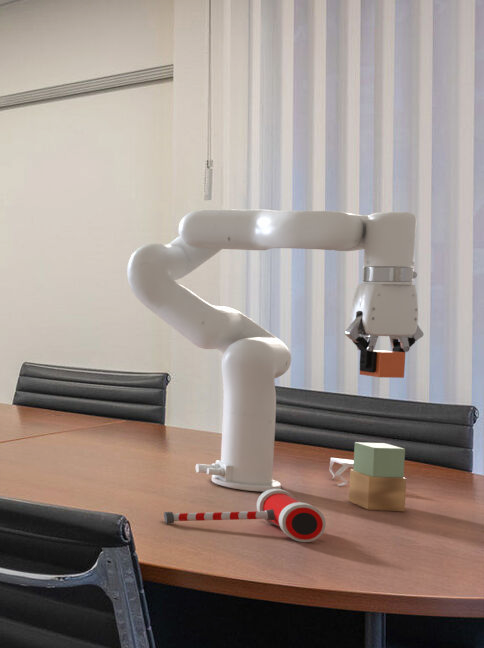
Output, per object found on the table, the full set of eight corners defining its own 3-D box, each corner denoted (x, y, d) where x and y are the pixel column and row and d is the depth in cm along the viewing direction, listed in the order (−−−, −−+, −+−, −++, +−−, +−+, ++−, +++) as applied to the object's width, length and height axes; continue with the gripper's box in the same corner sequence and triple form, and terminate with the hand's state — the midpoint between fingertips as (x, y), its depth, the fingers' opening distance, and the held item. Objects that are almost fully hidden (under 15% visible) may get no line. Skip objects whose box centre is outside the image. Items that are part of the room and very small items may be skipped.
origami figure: (316, 482, 184) (318, 460, 183) (329, 477, 189) (331, 456, 189) (385, 494, 174) (386, 470, 174) (396, 488, 179) (398, 465, 179)
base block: (367, 509, 162) (369, 476, 162) (348, 501, 168) (350, 469, 168) (404, 511, 161) (406, 478, 161) (384, 502, 167) (386, 471, 167)
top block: (379, 377, 160) (380, 352, 160) (359, 374, 165) (360, 349, 164) (404, 377, 160) (405, 352, 160) (383, 374, 165) (384, 350, 165)
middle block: (372, 476, 162) (374, 447, 162) (353, 470, 167) (354, 442, 167) (403, 477, 161) (405, 448, 161) (382, 471, 167) (384, 443, 167)
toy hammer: (174, 532, 145) (176, 496, 145) (155, 514, 157) (157, 480, 156) (325, 544, 140) (327, 506, 140) (294, 524, 151) (296, 489, 151)
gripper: (414, 277, 165) (408, 370, 166) (329, 276, 165) (323, 369, 166) (448, 277, 158) (442, 374, 159) (359, 276, 157) (353, 373, 158)
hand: (381, 370), depth 162 cm, fingers closed on top block, 4 cm apart
